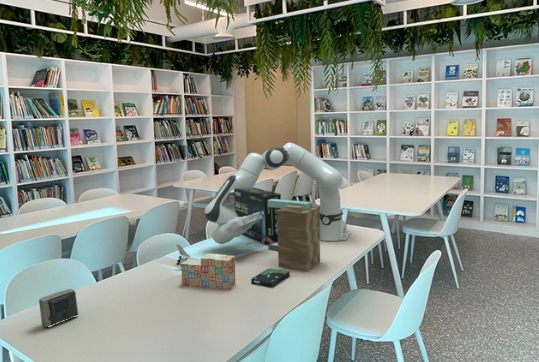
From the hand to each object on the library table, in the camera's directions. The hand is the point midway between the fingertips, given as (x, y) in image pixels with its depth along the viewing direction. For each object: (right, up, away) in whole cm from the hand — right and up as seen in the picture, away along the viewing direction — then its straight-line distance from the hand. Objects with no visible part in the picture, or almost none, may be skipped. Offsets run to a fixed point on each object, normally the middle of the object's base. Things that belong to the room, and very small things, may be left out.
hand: (257, 214), depth 207 cm
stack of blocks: (-19, -27, -29) cm, 44 cm away
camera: (-66, -32, -58) cm, 94 cm away
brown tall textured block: (+20, -22, -9) cm, 31 cm away
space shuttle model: (-26, -24, -7) cm, 36 cm away
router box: (-1, -16, +40) cm, 43 cm away
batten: (+14, +4, -10) cm, 18 cm away
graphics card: (+16, -19, +22) cm, 33 cm away
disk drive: (+6, -26, -26) cm, 37 cm away
